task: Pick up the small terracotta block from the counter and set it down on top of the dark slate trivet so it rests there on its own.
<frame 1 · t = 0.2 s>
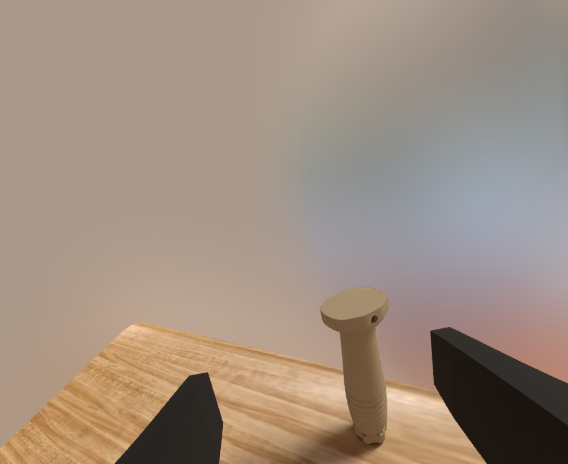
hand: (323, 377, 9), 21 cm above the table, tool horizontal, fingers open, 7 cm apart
handle: (371, 433, 29), on the table
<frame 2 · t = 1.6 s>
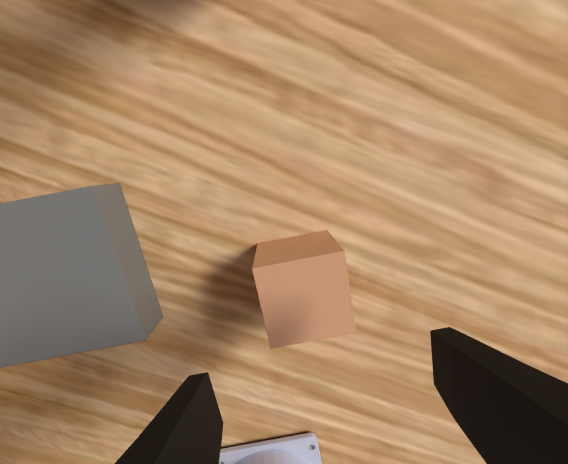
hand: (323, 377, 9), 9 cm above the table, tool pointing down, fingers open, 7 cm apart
terracotta block: (298, 268, 18), on the table
slate trivet: (78, 264, 18), on the table
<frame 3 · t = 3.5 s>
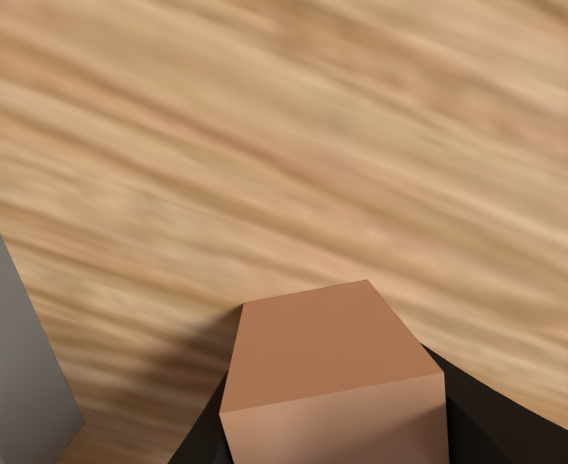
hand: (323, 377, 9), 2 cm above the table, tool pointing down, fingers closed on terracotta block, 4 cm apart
terracotta block: (315, 345, 10), on the table, touching gripper
when the fingers open (6 cm above the table, at t = 6.5 s): terracotta block stays where it is, resting on slate trivet.
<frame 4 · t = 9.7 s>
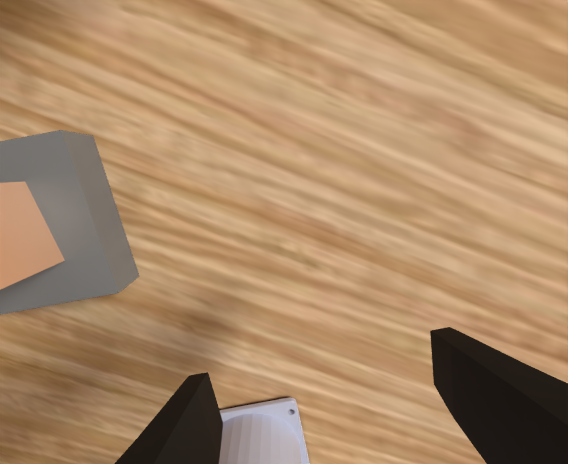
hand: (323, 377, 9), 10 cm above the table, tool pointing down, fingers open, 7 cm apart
terracotta block: (6, 233, 15), point 2 cm above the table, touching slate trivet
slate trivet: (54, 221, 18), on the table, touching terracotta block
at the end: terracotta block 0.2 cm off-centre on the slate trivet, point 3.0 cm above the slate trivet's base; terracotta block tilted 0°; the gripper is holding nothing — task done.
